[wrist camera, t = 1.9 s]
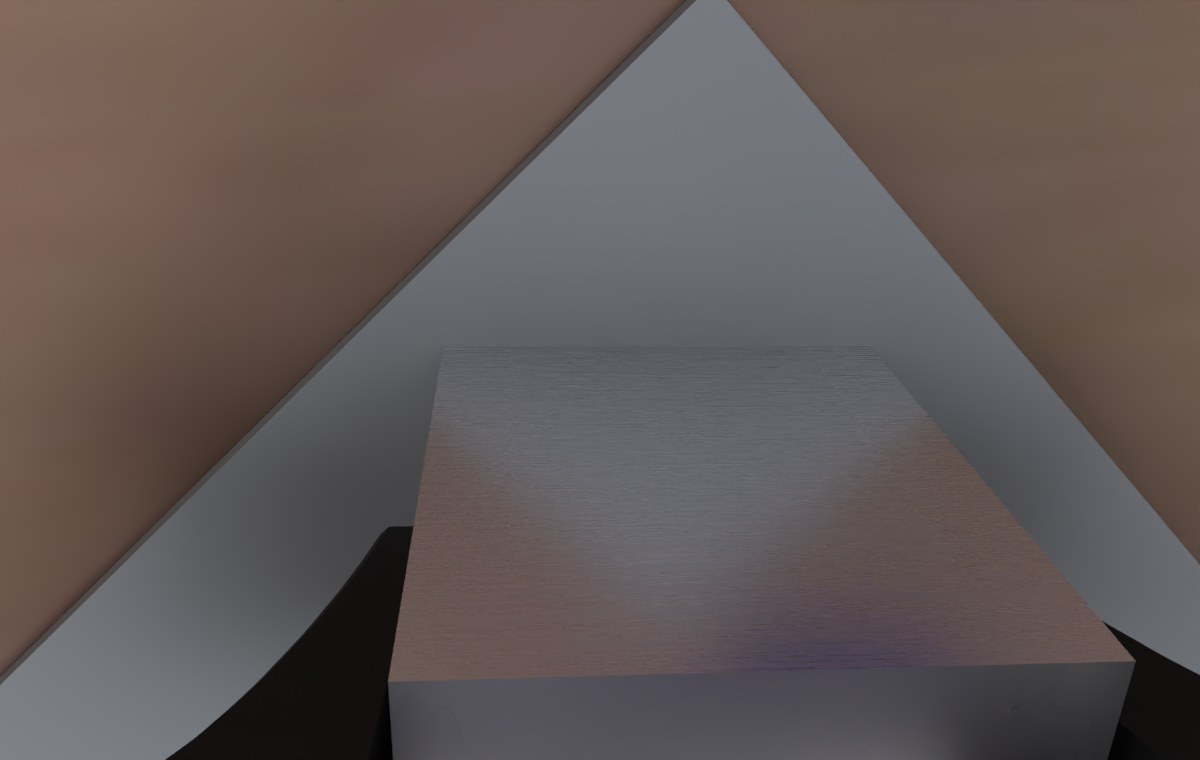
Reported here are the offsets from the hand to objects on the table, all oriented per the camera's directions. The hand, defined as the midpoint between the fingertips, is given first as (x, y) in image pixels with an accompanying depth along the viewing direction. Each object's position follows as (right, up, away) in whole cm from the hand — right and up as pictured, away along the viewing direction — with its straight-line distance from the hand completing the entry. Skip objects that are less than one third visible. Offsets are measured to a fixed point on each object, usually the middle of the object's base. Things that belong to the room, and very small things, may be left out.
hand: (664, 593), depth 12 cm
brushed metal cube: (0, +1, +1) cm, 1 cm away
